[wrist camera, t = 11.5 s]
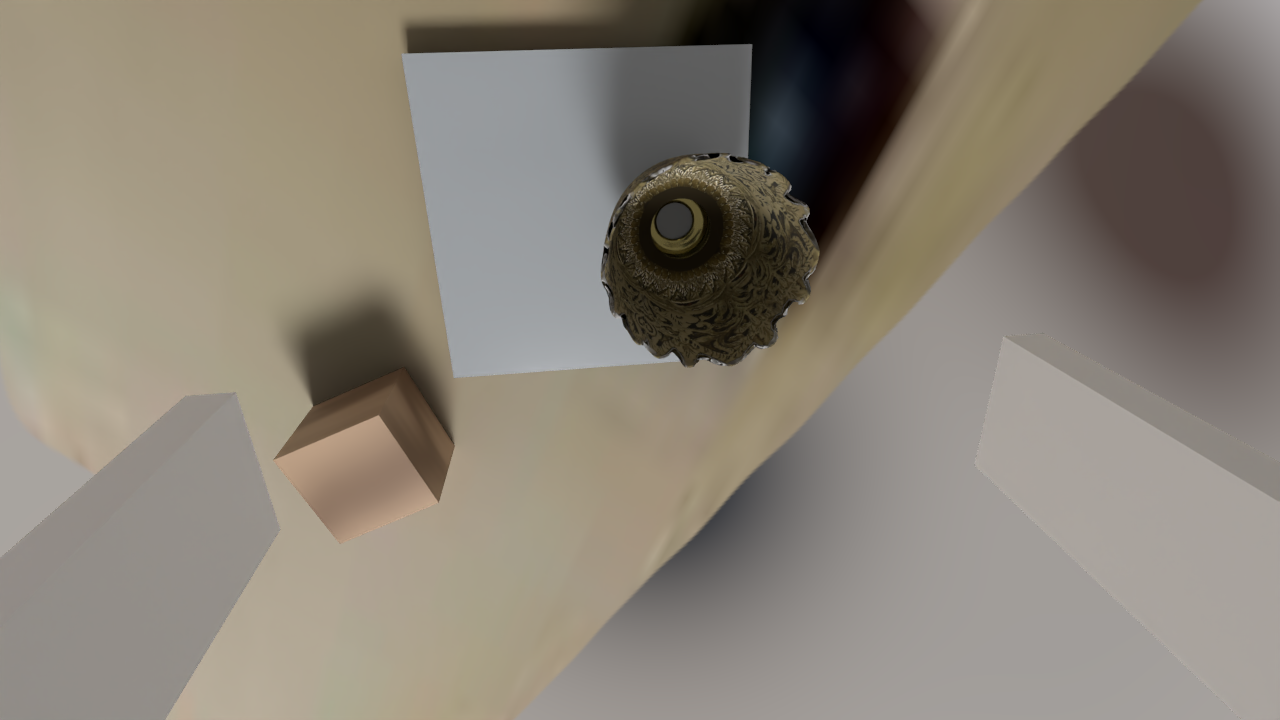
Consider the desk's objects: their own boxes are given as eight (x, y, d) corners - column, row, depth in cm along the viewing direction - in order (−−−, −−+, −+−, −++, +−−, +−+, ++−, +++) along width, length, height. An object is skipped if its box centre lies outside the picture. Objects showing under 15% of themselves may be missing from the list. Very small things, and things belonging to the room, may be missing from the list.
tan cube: (313, 405, 32) (273, 460, 27) (404, 366, 32) (378, 415, 27) (369, 481, 34) (340, 543, 29) (454, 445, 34) (438, 502, 29)
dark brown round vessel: (656, 96, 27) (692, 103, 19) (787, 197, 29) (863, 237, 22) (559, 243, 29) (559, 300, 21) (689, 327, 31) (729, 403, 24)
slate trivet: (407, 54, 26) (401, 53, 25) (744, 45, 27) (752, 44, 26) (457, 367, 32) (453, 377, 31) (734, 347, 33) (740, 356, 32)
